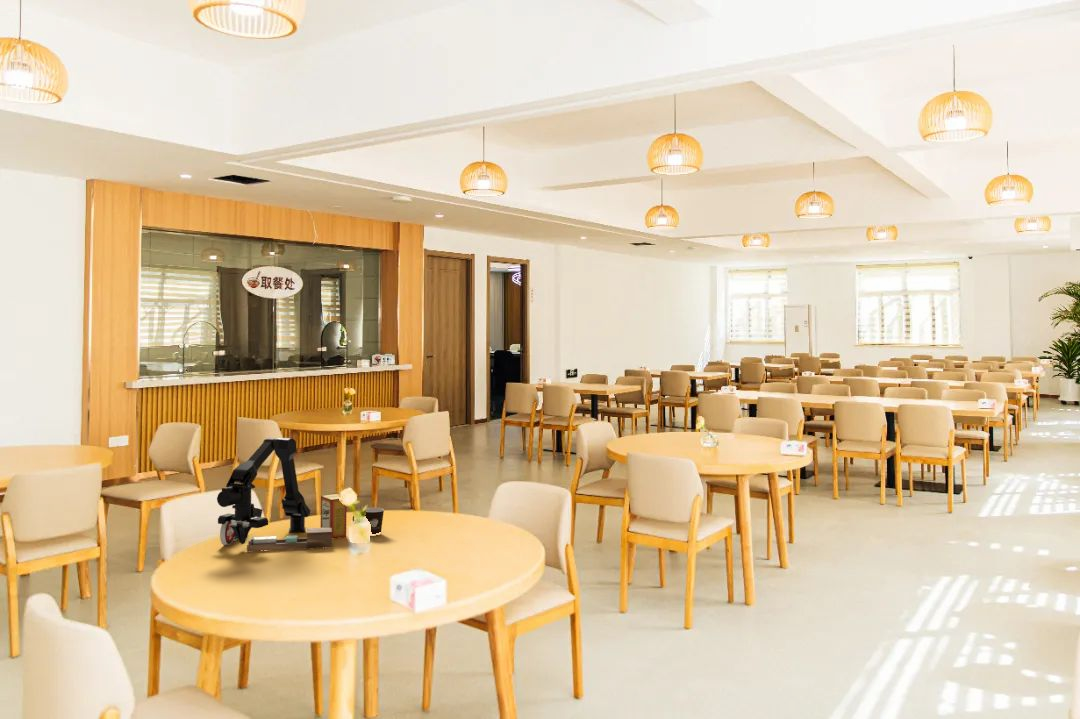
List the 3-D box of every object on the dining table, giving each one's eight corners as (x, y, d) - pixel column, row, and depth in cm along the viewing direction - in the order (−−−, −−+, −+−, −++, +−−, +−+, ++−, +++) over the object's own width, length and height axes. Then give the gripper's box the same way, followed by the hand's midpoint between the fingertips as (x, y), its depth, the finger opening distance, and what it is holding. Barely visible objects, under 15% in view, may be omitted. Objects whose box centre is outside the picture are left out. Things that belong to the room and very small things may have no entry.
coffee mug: (386, 532, 319) (386, 508, 318) (379, 537, 310) (380, 512, 310) (358, 531, 320) (358, 507, 320) (351, 536, 311) (351, 511, 311)
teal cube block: (285, 549, 291) (285, 538, 291) (286, 546, 295) (286, 535, 295) (296, 548, 292) (296, 538, 292) (297, 546, 296) (297, 535, 296)
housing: (248, 547, 292) (248, 531, 292) (331, 542, 301) (331, 527, 301) (246, 552, 285) (247, 535, 285) (331, 547, 294) (331, 531, 294)
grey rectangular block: (251, 547, 291) (251, 537, 291) (276, 546, 294) (276, 535, 294) (250, 550, 287) (250, 539, 287) (275, 549, 290) (276, 538, 290)
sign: (243, 533, 313) (243, 509, 313) (248, 533, 313) (248, 509, 313) (219, 548, 291) (220, 521, 291) (224, 548, 291) (224, 521, 291)
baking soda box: (346, 536, 310) (346, 496, 310) (330, 539, 306) (331, 498, 306) (335, 532, 318) (336, 493, 317) (320, 534, 313) (320, 494, 313)
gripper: (278, 499, 293) (277, 541, 293) (238, 495, 299) (237, 536, 299) (257, 505, 282) (257, 548, 282) (216, 501, 288) (216, 543, 289)
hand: (242, 543), depth 288 cm, fingers closed
